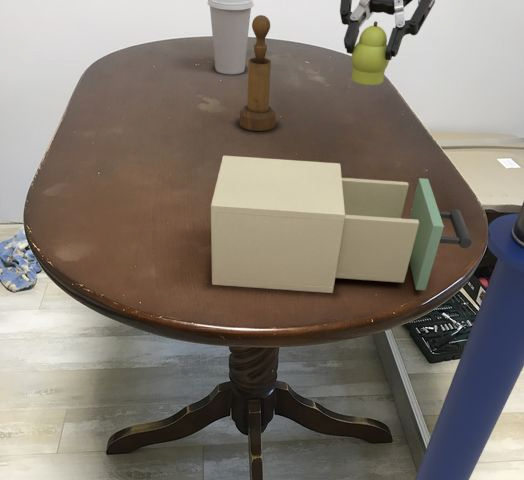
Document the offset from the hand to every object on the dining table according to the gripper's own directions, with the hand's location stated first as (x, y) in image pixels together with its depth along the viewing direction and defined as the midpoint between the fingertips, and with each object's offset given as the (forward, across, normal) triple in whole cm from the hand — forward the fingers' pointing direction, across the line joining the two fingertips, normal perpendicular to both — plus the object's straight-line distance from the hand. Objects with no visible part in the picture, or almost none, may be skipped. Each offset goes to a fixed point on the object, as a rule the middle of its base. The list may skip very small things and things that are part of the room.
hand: (368, 53), depth 85 cm
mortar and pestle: (+6, -21, +19) cm, 29 cm away
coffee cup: (-12, -39, +37) cm, 55 cm away
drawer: (+30, +12, -6) cm, 33 cm away
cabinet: (+34, -1, -9) cm, 35 cm away
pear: (+2, 0, +4) cm, 5 cm away
